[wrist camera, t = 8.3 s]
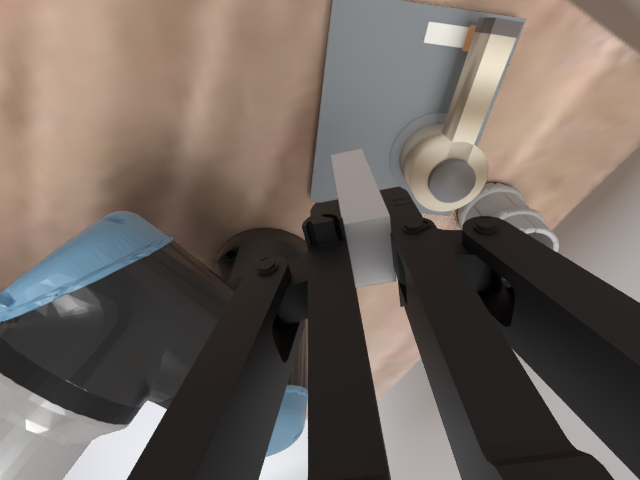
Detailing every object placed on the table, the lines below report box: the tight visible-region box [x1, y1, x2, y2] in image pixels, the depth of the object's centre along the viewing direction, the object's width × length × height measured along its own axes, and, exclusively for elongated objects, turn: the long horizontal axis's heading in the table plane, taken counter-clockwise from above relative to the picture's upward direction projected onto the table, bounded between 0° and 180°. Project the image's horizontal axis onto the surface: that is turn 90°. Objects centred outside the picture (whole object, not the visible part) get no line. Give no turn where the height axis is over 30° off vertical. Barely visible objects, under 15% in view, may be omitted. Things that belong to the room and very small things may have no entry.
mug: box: [458, 183, 559, 252], centre depth 38 cm, size 8×12×12 cm, turn 34°
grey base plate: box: [310, 0, 526, 216], centre depth 35 cm, size 20×17×2 cm
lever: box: [399, 17, 524, 212], centre depth 31 cm, size 16×7×7 cm, turn 172°
